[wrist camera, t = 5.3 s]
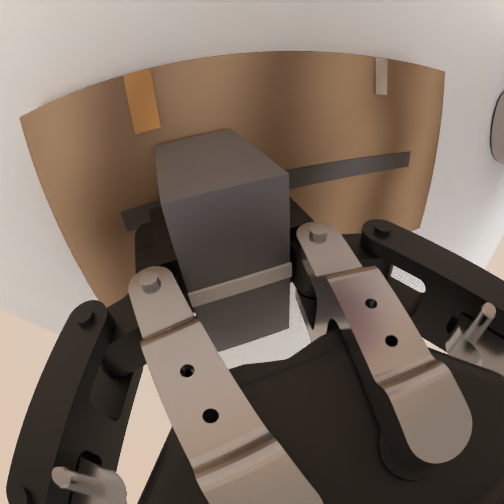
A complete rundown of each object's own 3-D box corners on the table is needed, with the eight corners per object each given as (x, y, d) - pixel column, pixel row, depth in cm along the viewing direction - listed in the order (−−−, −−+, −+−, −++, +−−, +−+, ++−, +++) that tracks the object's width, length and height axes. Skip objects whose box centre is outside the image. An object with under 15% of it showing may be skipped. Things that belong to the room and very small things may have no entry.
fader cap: (231, 128, 10) (291, 175, 6) (246, 250, 14) (290, 329, 10) (153, 146, 10) (160, 207, 6) (185, 267, 13) (211, 356, 10)
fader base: (416, 65, 14) (447, 72, 12) (398, 211, 21) (421, 229, 19) (39, 108, 9) (17, 118, 7) (114, 295, 16) (114, 327, 14)
